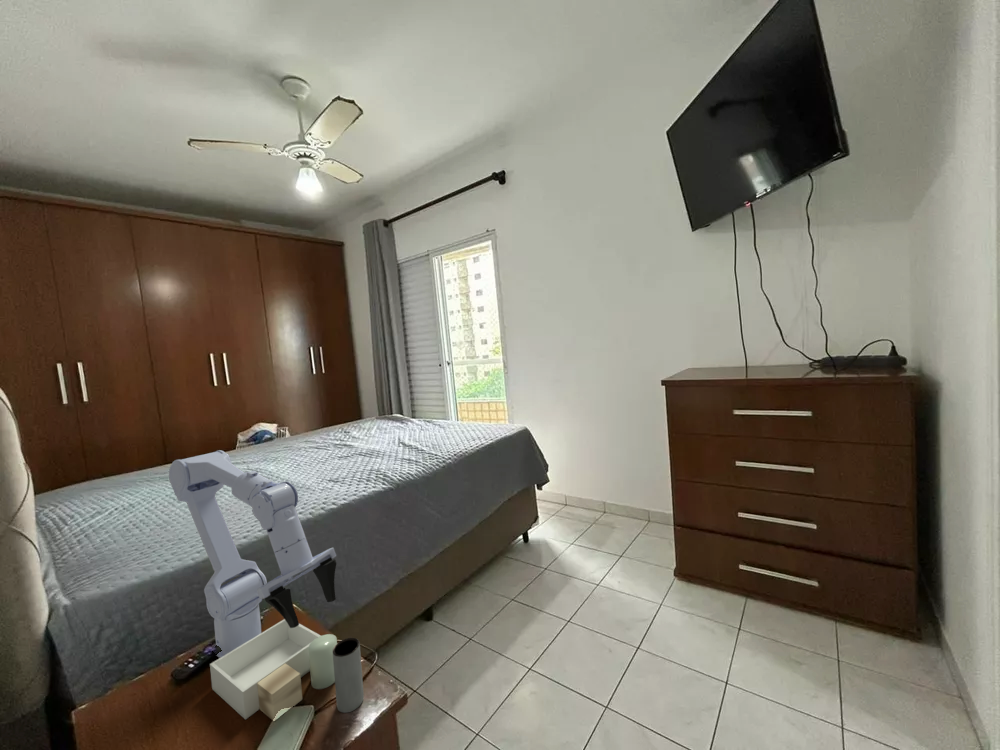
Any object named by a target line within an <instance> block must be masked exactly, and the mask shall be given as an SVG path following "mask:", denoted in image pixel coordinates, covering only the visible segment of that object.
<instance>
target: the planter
mask: <svg viewBox="0 0 1000 750" xmlns="http://www.w3.org/2000/svg"><path fill="white" fill-rule="evenodd" d="M360 643H361V642H360V640H359V638H357V637H356V638H355V637H347V638H344V639H342V640H341V641H338V642H337V644H336V645H335V647H334V648H333V665H334V677H335V682H334V685H335V688H334V689H335V700H336V701H335V702H336V708H337V710H338V711H339V712H340V713H345V714H346V713H350V712H352V711H354V710H356V709H357V708H359V707H360V706H361V704H362V703H363V702H364V697H365V693H364V682H363V680H364V679H363V670H362V669H363V668H362V659H361V658H362V655H361V645H360Z"/></svg>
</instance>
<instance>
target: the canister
mask: <svg viewBox="0 0 1000 750" xmlns="http://www.w3.org/2000/svg"><path fill="white" fill-rule="evenodd" d="M337 643H338V641H337V636H336V635H334V634H332V633H331V634H330V633H328V634H322V635H321V636H320V637H318V638H316V639H315V640H313V641H312V642H311V643H310V645H309V647H308V650H309V662H310V671H309V672H310V681H311V682H310V683H311V684H310V685H311V687H312V688H313V689H316V690H323V689H326V688H328V687H330V686H332V685H333V684H335V677H334V665H333V648H334V647H335V645H336V644H337Z"/></svg>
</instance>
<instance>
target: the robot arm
mask: <svg viewBox="0 0 1000 750" xmlns="http://www.w3.org/2000/svg"><path fill="white" fill-rule="evenodd" d="M168 469H169V471H168V480H169V483H170V486H171V489H172V490H173V493H174V495H175V497H176V499H177V501H179V502H184V503H186V504H187V507H188V510H189V512H190V515H191V517H192V519H193V522H194V525H195V528H196V529H197V532H198V535H199V537H200V539H201V542H202V545H203V547H204V550H205V552H206V555H207V557H208V560H209V561H210V564H211V567H212V570H213V571H214V573H213V574H212V575H211V577H210V579H209V580H208V582H207V583H206V585H205V586H204V589H203V593H204V596H205V599H206V600H205V601H206V608H207V612H208V614H209V615H210V616H211V617H212V618H213V619H214V620H213V626H214V637H215V646H216V645H217V646H219V647H220V648H221V650H222V651H221V652H219V653H218V654H217V655H216V657H218V659H219V658H221V657H223V656H224V655H226V654H228V653H229V652H231V651H232V650H234V649H236V648H237V647H239V646H241V645H242V644H244V643H246V642H247V641H249V640H251V639H252V638H254V637H256V636H257V635H259V634H261V633H262V623H261V613H260V603H261V602H262V601H263V599H264V601H265V602H266V603H267V604H269V606H271V607H273V608H274V609H275V610H276V611H277V612H278V613H279V614H280V615H281V616H282V618H283V620H284V619H285V620H286V622H287V623H288V625H289V627H290V628H295V627H297V626H298V625H299V624H300V623H299V619H298V616H297V613H296V611H295V608H294V605H293V600H292V593H291V589H290V588H285V587H286V586H288V585H289V584H291V583H292V582H294V581H296V580H297V579H299V578H301V577H302V576H304V575H307V574H308V573H310V572H311V571H312V573H314V575H315V576H316V578H317V580H318V582H319V584H320V586H321V589H322V592H323V595H324V598H325V600H326V602H327V603H331V602H334V601H336V600H337V599H336V598H337V597H336V590H335V588H336V587H335V576H336V568H337V560H336V559H334V558H336V557H337V553H336V551H335V550H336V549H335V548H334V547H331V548H328V549H326V550H324V551H322V552H321V553H318V554H316V555H314V556H313V554H312V551H311V548H310V545H309V543H308V540H307V537H306V534H305V531H304V529H303V526H302V523H301V520H300V518H299V515H298V512H297V508H296V507H297V505H298V502H299V495H298V492H297V489H296V487H295V486H294V485H293V484H292V483H291V482H290V481H288V480H287V481H282V482H275V481H273V480H270V478H267V477H265V476H263V475H262V474H259V473H258V471H256V470H251V471H243V470H242V469H240V468H239V467H237V466H236V465H234V464H233V463H232V461H231V458H230V455H229V454H228V453H227V452H225V451H224V450H220V449H219V450H218V449H217V450H216V451H213V452H209V453H205V454H200V455H195V456H191V457H187V458H182V459H175V460H174V461H172V463H171V465H170V467H169V468H168ZM224 485H225V486H227V487H228V488H231V494H232V495H233V497H234V498H236V499H238V500H239V501H241V502H243V503H245V504H246V505H248V506H249V507H252V509H251V511H252V514H253V517H254V518H255V519H257V521H258V522H259V524H260V526H261V529H263V530H264V531H266V532H267V536H268V538H269V542H270V545H271V548H272V550H273V553H274V556H275V559H276V563H277V564H278V565H277V566H278V568H279V571H280V575H278V576H276V577H275V578H273V579H271V580H270V581H268V582H267V577H266V575H265V574H264V573H263V571H261V570H260V567H258V565H257V564H258V563H257V562H256V561H254V560H248V559H247V560H246V559H243V558H242V557H241V556H240V553H239V551H238V548H237V547H236V544H235V541H234V539H233V537H232V533H231V532H230V529H229V527H228V525H227V522H226V520H225V518H224V514H223V512H222V511H221V508H220V506H219V504H218V501H217V499H216V494H217V492H218V491H220V490H221V489H222V488H223V487H224ZM235 577H236V578H235ZM222 584H223V585H222Z"/></svg>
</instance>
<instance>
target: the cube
mask: <svg viewBox="0 0 1000 750" xmlns="http://www.w3.org/2000/svg"><path fill="white" fill-rule="evenodd" d="M301 678H302V677H300V673H299V672H297V671H296V670H294V669H293V668H291V667H290V666H288V665H287V664H286V663H285V664H284V665H282V666H281V667H279V668H278V669H276V670H275V671H274V672H272V673H271V674H269V675H268V676H266V677H265V678H264V679H262V680H261V681H259V682H258V683H257V686H258V697H259V708H260V709H259V711H261V712H263V714H264V715H266V717H268V718H269V719H271V721H273V719H274V718H275V716H276V714H277V713H278V711H280V710H281V709H284V708H289V707H292V708H293V706H294V707H295V706H296V705H297V704H298V703H300V702H301V701H302V700H303V691H302V689H303V688H302V679H301Z"/></svg>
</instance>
